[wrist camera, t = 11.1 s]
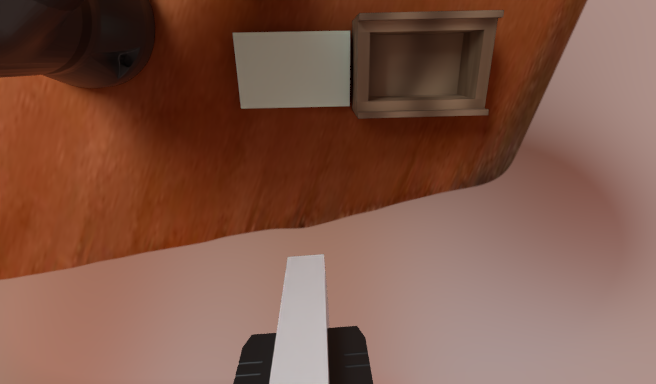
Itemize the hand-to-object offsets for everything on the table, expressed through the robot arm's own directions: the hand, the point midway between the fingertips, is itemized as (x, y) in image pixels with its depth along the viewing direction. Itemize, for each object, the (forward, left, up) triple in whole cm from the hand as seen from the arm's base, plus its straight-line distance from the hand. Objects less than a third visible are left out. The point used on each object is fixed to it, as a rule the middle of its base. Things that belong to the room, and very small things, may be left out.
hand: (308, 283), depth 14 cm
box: (+12, +8, -31) cm, 34 cm away
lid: (-2, +8, -32) cm, 33 cm away
